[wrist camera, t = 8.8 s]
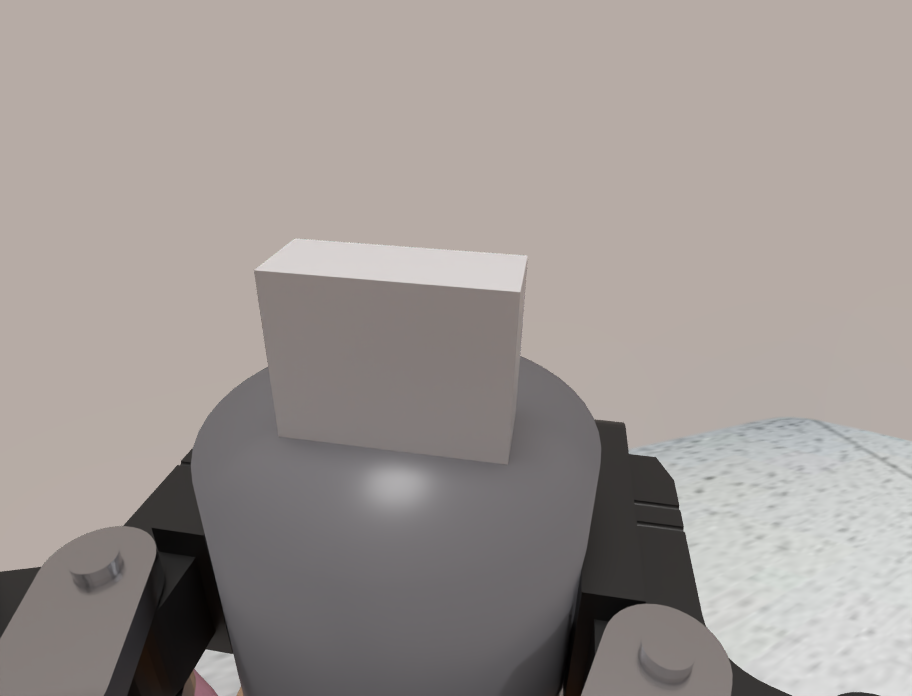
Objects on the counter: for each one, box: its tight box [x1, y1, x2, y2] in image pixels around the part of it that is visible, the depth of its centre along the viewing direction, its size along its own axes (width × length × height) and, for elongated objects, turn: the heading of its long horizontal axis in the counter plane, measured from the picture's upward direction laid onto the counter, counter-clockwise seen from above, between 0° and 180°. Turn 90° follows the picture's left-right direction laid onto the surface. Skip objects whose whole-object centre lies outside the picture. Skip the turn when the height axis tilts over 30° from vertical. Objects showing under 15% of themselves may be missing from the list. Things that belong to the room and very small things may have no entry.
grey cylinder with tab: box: [191, 239, 601, 696], centre depth 9 cm, size 5×5×10 cm
